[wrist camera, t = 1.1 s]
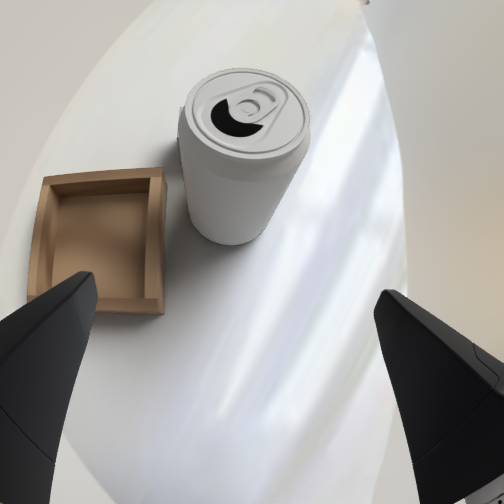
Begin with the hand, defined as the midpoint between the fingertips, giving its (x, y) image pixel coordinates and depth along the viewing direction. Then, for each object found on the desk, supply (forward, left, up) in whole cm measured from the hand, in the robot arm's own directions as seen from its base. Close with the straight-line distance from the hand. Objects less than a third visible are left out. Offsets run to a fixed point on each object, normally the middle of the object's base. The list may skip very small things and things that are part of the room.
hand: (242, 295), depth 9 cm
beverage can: (+8, -1, -14) cm, 16 cm away
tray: (+5, +9, -13) cm, 17 cm away
